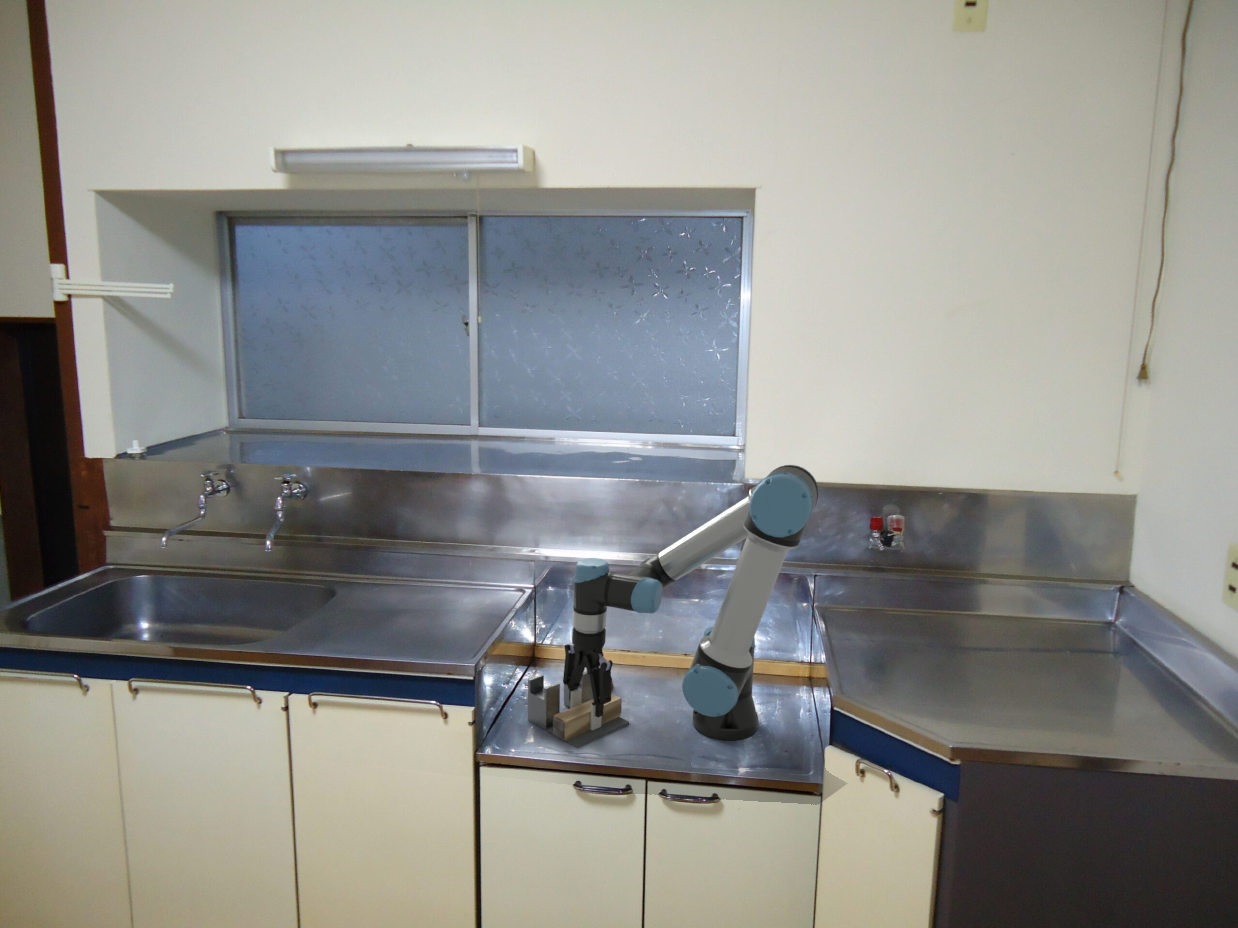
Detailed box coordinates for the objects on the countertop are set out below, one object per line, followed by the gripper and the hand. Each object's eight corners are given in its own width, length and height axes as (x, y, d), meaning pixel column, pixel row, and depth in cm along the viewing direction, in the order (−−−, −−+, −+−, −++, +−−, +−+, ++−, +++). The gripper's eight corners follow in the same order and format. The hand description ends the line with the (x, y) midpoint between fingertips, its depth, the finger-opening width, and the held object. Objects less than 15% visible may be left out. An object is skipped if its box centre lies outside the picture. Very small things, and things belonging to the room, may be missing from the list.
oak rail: (622, 715, 190) (622, 697, 190) (563, 741, 178) (563, 722, 177) (610, 709, 193) (610, 691, 192) (551, 734, 181) (551, 716, 180)
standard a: (594, 709, 194) (595, 669, 193) (582, 714, 192) (582, 674, 190) (576, 699, 199) (576, 661, 197) (563, 704, 196) (564, 665, 194)
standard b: (559, 724, 187) (559, 683, 185) (546, 729, 184) (546, 688, 182) (541, 714, 191) (541, 674, 190) (527, 719, 188) (528, 679, 187)
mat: (629, 723, 187) (629, 721, 187) (577, 747, 176) (577, 745, 176) (599, 708, 194) (599, 706, 194) (547, 731, 183) (548, 728, 183)
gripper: (631, 636, 178) (626, 733, 182) (573, 610, 191) (570, 701, 195) (606, 645, 172) (602, 744, 177) (548, 618, 186) (545, 711, 190)
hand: (585, 721), depth 186 cm, fingers open, 6 cm apart
